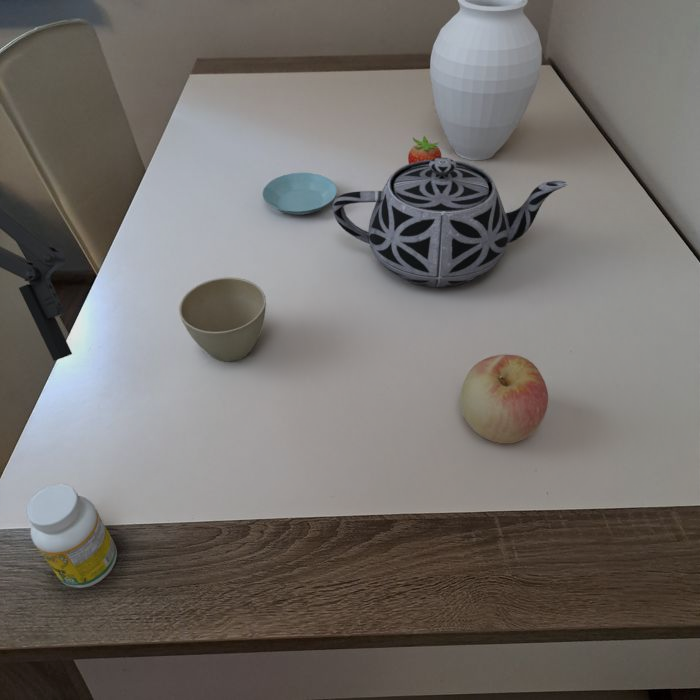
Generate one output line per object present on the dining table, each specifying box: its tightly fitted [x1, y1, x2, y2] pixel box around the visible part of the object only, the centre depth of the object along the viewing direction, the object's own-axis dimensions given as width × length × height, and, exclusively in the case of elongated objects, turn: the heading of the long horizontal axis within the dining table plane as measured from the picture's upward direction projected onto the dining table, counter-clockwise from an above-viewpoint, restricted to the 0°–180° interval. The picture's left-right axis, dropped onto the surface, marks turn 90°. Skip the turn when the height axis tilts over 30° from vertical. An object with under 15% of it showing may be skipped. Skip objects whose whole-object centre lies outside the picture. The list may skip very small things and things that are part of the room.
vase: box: [429, 0, 543, 161], centre depth 107 cm, size 18×18×25 cm
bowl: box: [178, 276, 267, 362], centre depth 77 cm, size 10×10×7 cm
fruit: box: [407, 135, 442, 164], centre depth 105 cm, size 5×5×8 cm
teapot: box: [332, 157, 569, 288], centre depth 87 cm, size 19×31×15 cm, turn 89°
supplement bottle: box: [26, 483, 118, 589], centre depth 56 cm, size 5×5×10 cm
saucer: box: [262, 172, 338, 215], centre depth 103 cm, size 12×12×2 cm
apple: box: [460, 354, 549, 444], centre depth 67 cm, size 9×9×8 cm
